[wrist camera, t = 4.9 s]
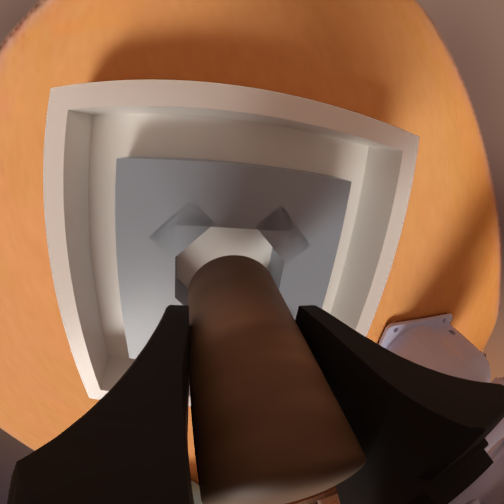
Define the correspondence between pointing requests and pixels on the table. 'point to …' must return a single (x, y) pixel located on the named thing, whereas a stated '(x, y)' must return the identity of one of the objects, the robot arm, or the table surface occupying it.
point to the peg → (259, 394)
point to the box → (211, 205)
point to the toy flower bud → (196, 493)
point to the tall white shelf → (321, 498)
